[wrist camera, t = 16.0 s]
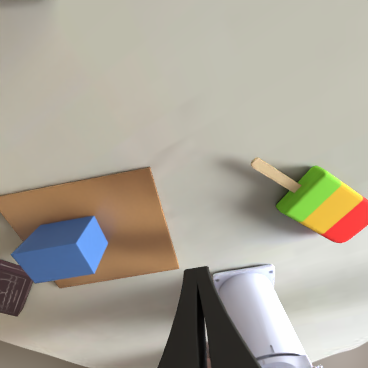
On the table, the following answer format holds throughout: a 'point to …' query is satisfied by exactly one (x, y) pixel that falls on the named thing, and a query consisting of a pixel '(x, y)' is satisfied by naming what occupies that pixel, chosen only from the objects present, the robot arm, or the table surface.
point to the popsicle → (320, 202)
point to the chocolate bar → (13, 288)
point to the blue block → (62, 250)
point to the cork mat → (103, 221)
